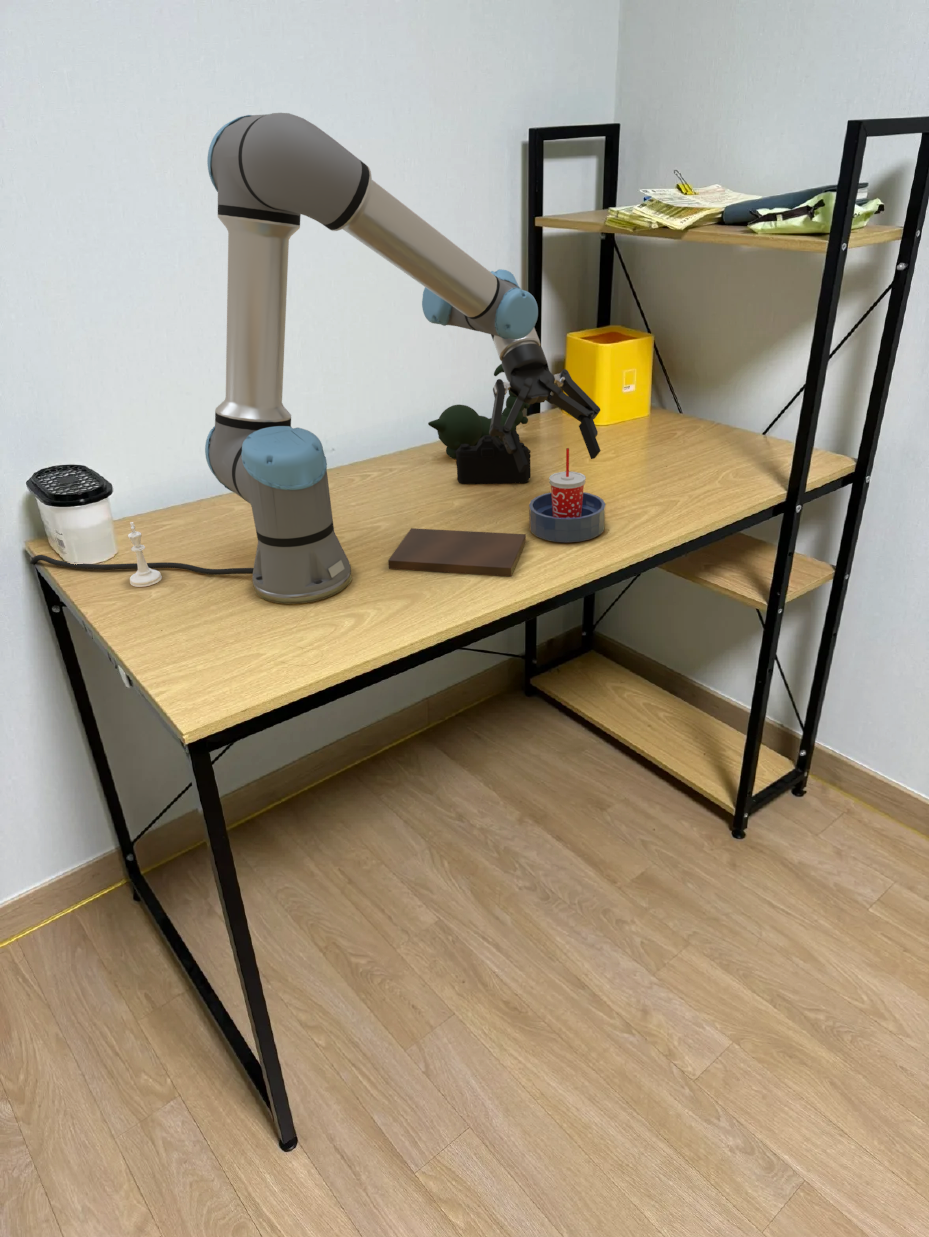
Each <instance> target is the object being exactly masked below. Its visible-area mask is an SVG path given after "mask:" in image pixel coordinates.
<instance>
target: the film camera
mask: <svg viewBox="0 0 929 1237" xmlns="http://www.w3.org/2000/svg"><path fill="white" fill-rule="evenodd" d="M520 443H521V445H522V448H523V451H524V454H525V457H526V459H527V462H528V465H527V467H526V469H525V470H524V472H520V473H519V470H518V467H517V464H516V461H515V459H514V456H513V453H512V454H509V453H508V452H507V450H506V447H505V444H504V441H503V442H501V441H500V440H499V439H498V438H497V437H495V436H494V437H492V436H490V435H485V436H483V437H482V438H480V439H479V441H478V443H477V445H476V446H470V445H469V444H461V445H460V448H458V449H457V450H454V453H456V459H455V462H456V464H455V465H456V479H457V483H458V484H460V485H513V484H526V483H528V482H529V481H530V479H531V478H532V477H531V476H532V473H531V472H532V471H531V469H532V468H531V450H530V449H529V447H528V446H526V445H525V443H524V442H520Z"/></svg>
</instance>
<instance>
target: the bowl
mask: <svg viewBox="0 0 929 1237" xmlns="http://www.w3.org/2000/svg"><path fill="white" fill-rule="evenodd" d="M606 506H607V504H606V502H605V501H604V499H603V498H601V497H600V496H598V495H596V494H593V493H589V492H586V491H583V501H582V513H581V517H573V518H560V517H553V512H552V496H551V491H550V492H546V493H543V494H540V495H537V496H535V497H533V499H531V500H530V502H529V504H528V528H529V531H530V533H531V534H532V535H534V536H535V537H537V538H539V539H542V540H545V541H549V542H554V543H578V542H584V541H589V540H592V539H594V538H597V537H599V536H600V535H602V534H603V533H604V531H605V528H606V508H607V507H606Z"/></svg>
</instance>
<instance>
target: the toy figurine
mask: <svg viewBox="0 0 929 1237" xmlns="http://www.w3.org/2000/svg"><path fill="white" fill-rule="evenodd" d="M501 373H504V374H505V372H504V370H503V367H502V363H500V364H499V365H498V366H497V367H496V368H495V370H494V371H493V376H494V377H498V375H500V374H501ZM507 392H508V397H507V398H506V400H505V407H504V408H503V410H502V417H501V423H500V425H501V426H504V425H505V423H506V420H507V418H508V416H509V414H510V412H511V410H512V407H513V405H514V403H515V401H516V399H517V397H516V396H515V395H514V394H513V393H511V392H510V391H509V390H508V391H507ZM530 407H531V404H530V405H528V403H524V402H523V404H522V406H521V408H520V410H519V412H518V415H517V417H516V419H515V421H514V423H513V426H512V428H511V430H510V431H513V430H516V431H517V426H519V425H520V424H521V425H527V424H528V422H529V418H528V417H527V416H524V412H523V411H524V410H525V409H527V410H528V409H529V408H530ZM491 419H492V417H490V418H489V417H487V416H484V415H479V413H477V411H476V410H475V408H474V409H473V408H472V407H471V406H469V405H466V404H452V405H451V406H449V407H447V408H446V409H444V410H443V411H442V413H441V414H440V415H439V417H438V418H437V419H434V420H431V421H429V422H428V423H427V425H428V426H429V427H431V428H432V429H434V430H436V431H437V435H438V440H440V442H441V443H442V444H443V445H444V446H445V447H446V448H445V454H446V456H448V458H451V459H453V460H456V453H454V450H457V449H458V448H460V445H461V444H469V445H470V446H476V445H477V443H478V441H479V439H480V438H482V437H483V436H485V435H490V434H489V431H490V425H491ZM517 434H518V437H519V438H520V434H519V433H518V432H517ZM495 437H497V438H498V439H499V436H495ZM499 440H500V439H499ZM500 441H501V442H503V441H502V440H500Z"/></svg>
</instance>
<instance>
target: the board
mask: <svg viewBox="0 0 929 1237" xmlns="http://www.w3.org/2000/svg"><path fill="white" fill-rule="evenodd" d="M526 543H527V535H526V533H509V532H492V531H491V532H490V531H474V530H473V531H472V530H471V531H470V530H453V529H452V530H451V529H434V528H433V529H432V528H413V527H411V528H410V529H409V531H408V532H407V533H406V535H405V536H404V538H403V539H402V540H401V542H400V543H399V544H398V546H397V547H396V548H395V550H394V552H393V553H392V554H391V555H390V556H389V558H388V560H387V563H388V570H389V569H390V570H403V571H417V572H418V571H419V572H432V573H433V572H435V573H449V574H450V573H452V574H466V575H481V576H482V575H483V576H496V577H497V576H498V577H512V576H513V573H514V571H515V568H516V567H517V565H518V562H519V560H520V557H521V555H522V552H523V550H524V548H525V546H526Z"/></svg>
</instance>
